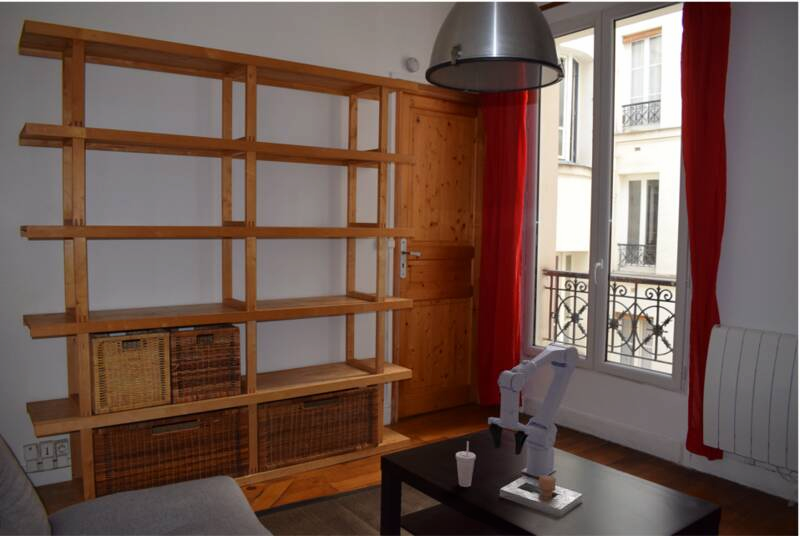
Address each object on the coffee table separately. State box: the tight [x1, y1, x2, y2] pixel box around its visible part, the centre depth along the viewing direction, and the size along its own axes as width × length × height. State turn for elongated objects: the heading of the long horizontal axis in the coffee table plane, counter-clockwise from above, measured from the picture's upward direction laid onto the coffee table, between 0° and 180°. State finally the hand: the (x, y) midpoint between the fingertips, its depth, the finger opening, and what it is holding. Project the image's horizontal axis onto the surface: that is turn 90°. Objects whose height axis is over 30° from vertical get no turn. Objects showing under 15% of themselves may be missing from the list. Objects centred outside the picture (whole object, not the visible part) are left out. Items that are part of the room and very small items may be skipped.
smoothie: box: [455, 440, 477, 488], centre depth 202 cm, size 6×6×14 cm
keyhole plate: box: [499, 475, 583, 518], centre depth 193 cm, size 14×20×2 cm
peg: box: [538, 475, 557, 498], centre depth 191 cm, size 5×5×7 cm
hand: (507, 450), depth 204 cm, fingers open, 7 cm apart
